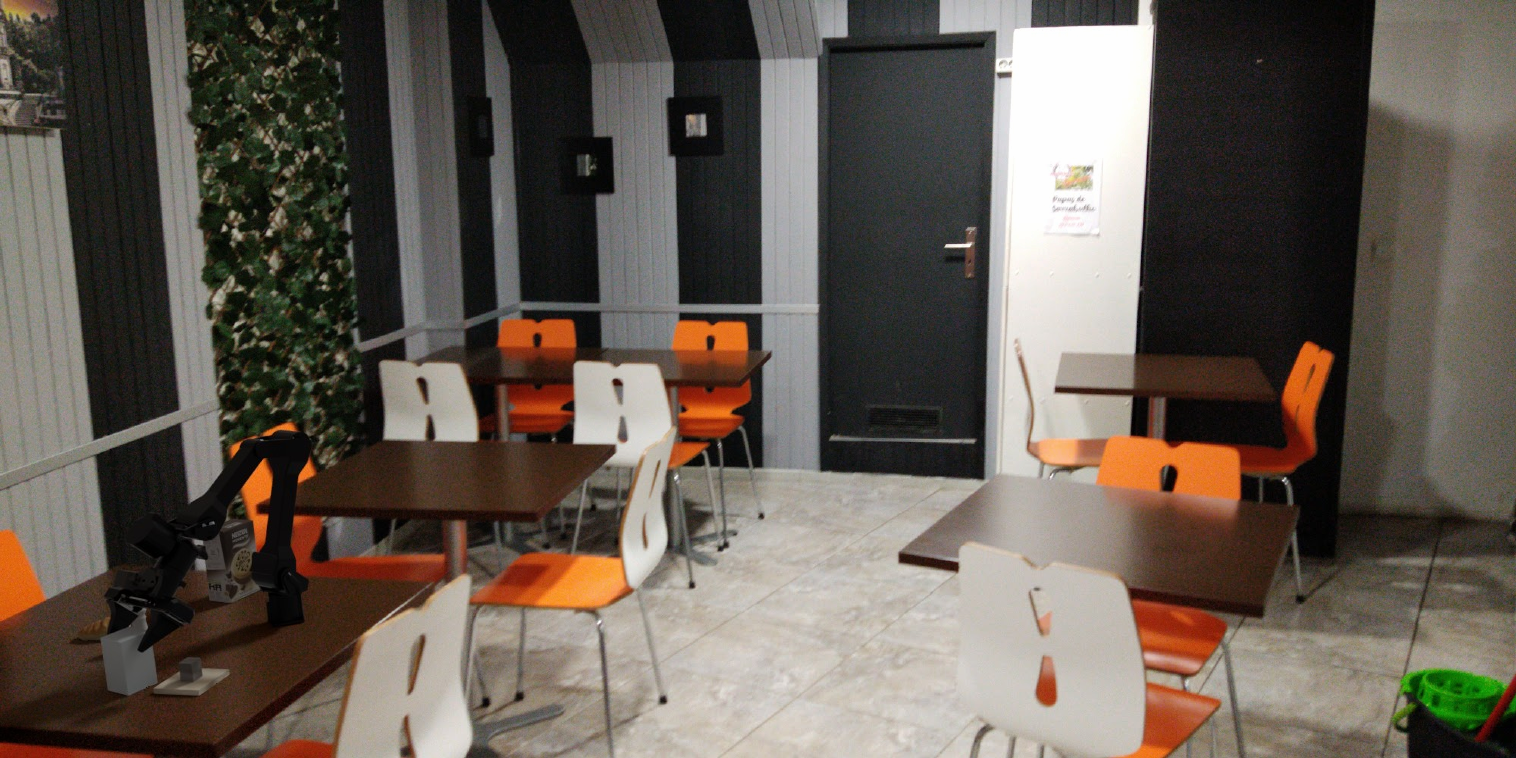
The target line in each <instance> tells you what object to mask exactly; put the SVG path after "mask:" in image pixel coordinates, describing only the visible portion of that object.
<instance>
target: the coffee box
mask: <svg viewBox="0 0 1516 758" xmlns="http://www.w3.org/2000/svg"><path fill="white" fill-rule="evenodd" d="M254 526H255V525H254V520H252V519H233V518H231V519H228V520H226V521H225V523H224V525H223V527H222V529H221V530H220V532H219V534H218V535H217V536H216V537H215V538H214V539H213V540H209V541H202V545H204V546H206V552H207V554H208V560H204V563H205V569H206V570H205V572H206V579H207V588H208V597H209V598H208V599H209V601H210V602H218V603H226V604H233V603H235V602H237V601H239V600H241V599H243V598H246V597H248V596H250V595H252V594H254V593H257V592H259V591H261V590H260V588H259V586H258V585H257V584H256V583H255V582H254V580H252V572H250V571H249V570H250V568H251V564H252V553H253V552H254V551H255V552H258V551H257V543H256V535H255V527H254Z"/></svg>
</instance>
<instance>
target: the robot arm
mask: <svg viewBox="0 0 1516 758" xmlns="http://www.w3.org/2000/svg"><path fill="white" fill-rule="evenodd" d="M312 443H313V442H312V438H310V437H309V435H308V434H307V433H306V432H304V431H299V430H288V429H276V430H275V431H273V432H272V433H271V434H270V435H262V436H261V435H260V436H257V437H254V438H249V437H248V438H246V439H243V440H242V441H241V442H240V445H239V446H238V450H236V452H235V454H234V455H233V456H232V457H231V459H229V461H228V462H227V464H226V465H225V467H224V468H223V470H221V472H220V473H219V475H218V476H217V478H215V480H214V481H213V483H212V484H211V485H210V487H208V489H207V491H205V492H204V494H203V495H201V496H199V497H198V498H196V499H194V500H192V501H191V502H189V503H188V504H187V505H186V506H185V507H184V509H182V511H181V512H179V513H178V515H177V517H174V518H172V519H170V520H167V521H166V520H165V519H163V517H162V516H161V515H160V514H158V513H157V512H151V511H149V512H147V513H146V515H145V516H144V517H142V518H140V519H138V520H137V521H136V522H134V523H133V524H132V525H130V527H129V528H128V530H127V532H126V536H125V540H126V542H127V544H128V545H130V546H132V547H133V548H135V549H137V550H139V551H140V552H142V553H143V554H144V555H146V556H147V557H149V558H150V559H157V561H156V562H155V564H154V566H149V565H148V566H147V567H145V568H144V567H142V568H140V569H139V571H134V570H128V569H127V570H126V569H119V568H117V569H116V572H115V574H114V579H113V582H112V586H110V587H108V589H107V590H106V591H105V593H104V595H103V598H104V599H105V602H106V603H105V604H107V605H108V607H109V610H110V616H109V617H110V622H109V626H108V631H107V635H109V634H112V633H114V632H117V631H119V630H122V629H125V628H127V627H129V626H130V625H131V626H132V625H133V624H132V623H133V622H134V620H135V619H136V618H137V617H138V616H139V615H137V614H135V613H138V612H139V611H141V610H142V609H143V608H145V609H147V610H150V619H151V620H150V623H149V624H148V628H147V630H146V632H145V634H144V636H143V638H142V640H141V642H140V644H139V647H138V649H137V650H138V651H139V652H141V653H143V652H144V651H146V650H147V649H149V648H150V647H151V646H154V645H156V644H157V643H158V642H160V641H161V640H163V639H164V638H166V637H167V636H168V635H170V634H171V633H173V632H175V631H177V630H178V629H180V628H184V627H185V626H184V624H185V625H191V623H192V621H193V620H194V618H195V617H196V615H195V608H193V607H192V606H190V605H189V604H187V603H185V602H184V601H182V600H181V599H179V598H177V597H175V595H176V593H177V592H178V590H179V589H185V588H186V586H187V584H188V583H187V582H185V581H184V580H185V579H186V577H187V575H188V573H189V572H190V570H191V568H192V566H193V565H194V564H195V562H196V560H197V559H198V560H203V561H205V560H208V554H207V552H206V546H204V545H203V544H195V543H193V542H192V541H191V540H197V541H201V542H203V541H209V540H213V539H214V538H215V537H216V536H217V535H218V534H219V532H220V530H221V529H222V527H223V525H224V523H225V521H227V517H228V516H227V515H228V509H229V507H230V506H231V504H232V503H233V501H234V499H235V498H237V496H238V494H239V493H240V491H241V490H242V488H243V487H244V486H245V485H246V483H247V482H248V480H249V479H250V478H251V476H252V475H253V474H254V472H255V471H256V470H257V469H258V467H259V466H260V465H261V463H262V461H263V460H265V459H267V461H268V463H269V465H270V469H271V471H272V481H271V489H270V496H269V505H268V513H267V524H266V530H265V537H264V539H265V540H264V544H263V545H262V546H261V548H260V550H259V551H257V552H255V551H254V552H253V553H252V564H251V568H250V570H249V571H250V572H252V580H254V582H255V583H256V584H257V585H258V586H259V588H260V590H259V591H260V592H262V593H267V595H268V598H266V599H265V606H266V616H267V621H268V622H269V623H270V627H271V628H274V627H280V626H287V625H292V624H297V623H298V624H299V623H303V622H305V621H306V620H305V619H306V617H305V609H304V608H303V607H304V606H303V598H302V595H303V593H304V592H306V591H308V589H309V585H310V584H309V583H310V580H309V579H308V578H307V577H305V575H303V574H301V573H300V572H298V570H297V558H296V555H295V553H294V550H293V547H292V536H293V529H294V519H295V512H296V503H297V496H298V495H297V494H298V487H299V486H298V485H299V478H300V474H301V473H302V471H303V470H304V469H305V467H306V465H307V464H308V462H309V459H310V456H311V451H312V447H313V444H312ZM178 537H182V538H184V539H180V538H178ZM189 539H190V540H189ZM133 612H134V613H133Z"/></svg>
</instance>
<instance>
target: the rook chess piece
mask: <svg viewBox="0 0 1516 758" xmlns="http://www.w3.org/2000/svg"><path fill="white" fill-rule="evenodd" d="M147 610H148V609H145V608H143V609H142V610H141V611H139V612H138V613H135V614H137V615H139V616H138V617H137V618H136V619H135V620H134V622H133V623H132V624H131V627H135V628H139V629H144V630H147V628H148V627H149V625H148V623H147V619H146V618H147V615H146V612H147ZM133 613H134V612H133Z"/></svg>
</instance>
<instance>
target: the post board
mask: <svg viewBox="0 0 1516 758" xmlns="http://www.w3.org/2000/svg"><path fill="white" fill-rule="evenodd" d="M201 660H202V659H201V657H189V656H188V657H186V658H185V659H183V660H181V661H179V662H178V670H179V671H178V672H176V673H175V674H173V675H172V676H170V677H168V678H167V679H166V680H164V681H162V682H161V683H159V684H158V685H156V686H155V687H153V688H152V689H153V694H157V695H177V696H178V695H179V696H198V697H199V696H201V695H202V694H203V693H204V694H205V692H207V691H208V690H210V689H211V688H212V687H214V686H215V685H217V684H218V683H220V682H221V681H222V680H224V679H225V678H226V677H228V676H230V669H229V668H226V669H225V668H209V667H208V668H203V667H202V661H201ZM216 683H217V684H216Z"/></svg>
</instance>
